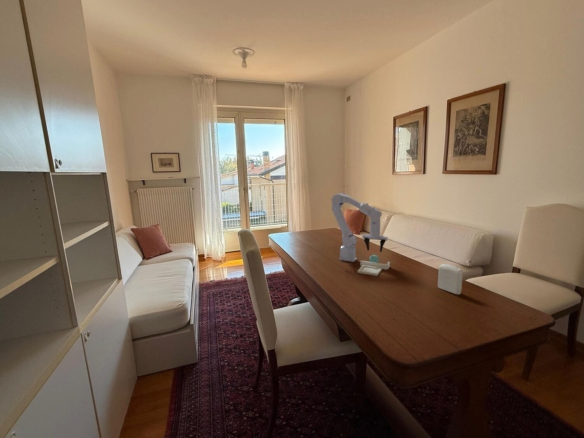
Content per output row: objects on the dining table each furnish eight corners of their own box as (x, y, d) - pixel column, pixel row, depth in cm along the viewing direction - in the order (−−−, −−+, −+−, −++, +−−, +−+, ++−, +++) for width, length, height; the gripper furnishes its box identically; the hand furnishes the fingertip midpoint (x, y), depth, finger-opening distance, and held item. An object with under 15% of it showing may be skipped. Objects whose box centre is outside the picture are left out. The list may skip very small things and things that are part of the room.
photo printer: (435, 287, 127) (437, 262, 126) (441, 285, 129) (443, 261, 127) (456, 295, 118) (459, 269, 116) (462, 293, 120) (465, 267, 118)
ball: (368, 264, 162) (368, 255, 162) (370, 261, 167) (370, 253, 166) (377, 265, 160) (377, 256, 159) (379, 263, 164) (379, 254, 164)
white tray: (357, 272, 149) (357, 270, 148) (362, 266, 158) (362, 264, 158) (377, 276, 143) (377, 273, 143) (381, 269, 152) (381, 267, 152)
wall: (360, 265, 160) (360, 260, 160) (362, 262, 165) (363, 258, 165) (387, 269, 152) (387, 264, 152) (389, 266, 157) (389, 262, 157)
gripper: (361, 229, 160) (361, 250, 162) (386, 231, 153) (385, 253, 155) (364, 227, 166) (364, 248, 168) (388, 229, 159) (387, 251, 161)
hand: (374, 250), depth 162 cm, fingers open, 7 cm apart
